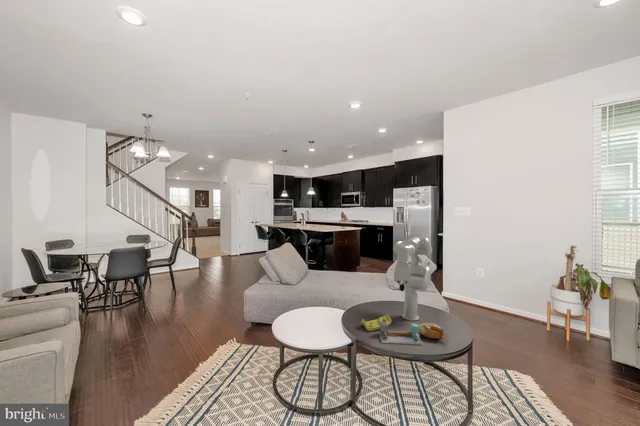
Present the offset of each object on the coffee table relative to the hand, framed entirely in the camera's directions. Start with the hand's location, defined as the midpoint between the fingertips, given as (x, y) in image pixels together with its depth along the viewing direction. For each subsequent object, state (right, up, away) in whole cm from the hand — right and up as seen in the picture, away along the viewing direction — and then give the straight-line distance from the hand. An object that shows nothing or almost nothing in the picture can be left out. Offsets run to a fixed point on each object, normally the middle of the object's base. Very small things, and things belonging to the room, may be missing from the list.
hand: (401, 290), depth 184 cm
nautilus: (+17, -28, -11) cm, 34 cm away
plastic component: (-16, -27, +4) cm, 32 cm away
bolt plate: (-5, -27, -15) cm, 32 cm away
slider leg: (+5, -27, -13) cm, 30 cm away
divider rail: (-4, -27, -12) cm, 30 cm away
